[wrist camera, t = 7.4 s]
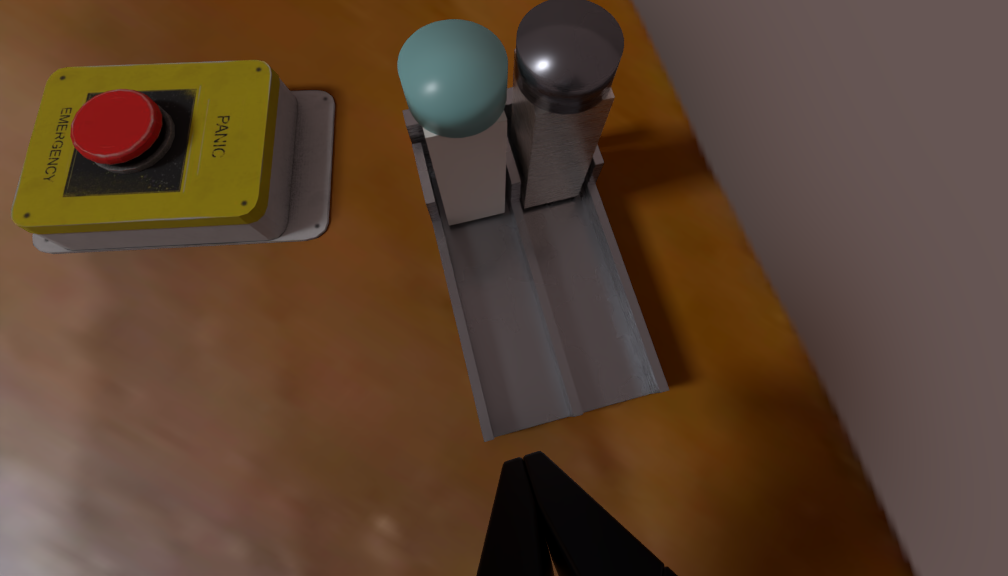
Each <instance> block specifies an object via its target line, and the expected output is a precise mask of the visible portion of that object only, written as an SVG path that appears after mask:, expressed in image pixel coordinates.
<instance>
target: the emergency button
mask: <svg viewBox="0 0 1008 576" xmlns="http://www.w3.org/2000/svg"><path fill="white" fill-rule="evenodd" d="M334 117H335V103H334V99H333V97H332V96H331V95H330V94H328V93H327V92H325V91H319V90H304V91H290V90H289V89H288V88H287V87H286V85H285V84H284V83H283V82H282V81H281V79H280V78H279V76H278V75H277V73H276V72H275V71H274V70H273V69H272V68H271V67H270V66H269V65H268V64H267V63H266V62H264V61H259V60H243V61H217V62H191V63H164V64H138V65H112V66H86V67H66V68H62V69H58V70H57V71H56V72H54V73H53V74H52V75H50V77H49V79H48V81H47V82H46V86H45V89H44V93H43V97H42V100H41V104H40V107H39V111H38V114H37V118H36V122H35V125H34V129H33V132H32V136H31V140H30V143H29V147H28V150H27V154H26V158H25V161H24V165H23V168H22V172H21V175H20V179H19V183H18V186H17V190H16V193H15V197H14V201H13V204H12V208H11V219H12V220H13V222H14V223H15V224H16V225H17V226H19V227H21V228H23V229H24V230H26V231H28V232H30V233H33V236H32V237H33V245H34V246H35V247H36V248H37V249H38V250H39V251H41V252H45V253H51V254H63V253H82V252H101V251H120V250H139V249H159V248H178V247H197V246H216V245H235V244H255V243H274V242H293V241H308V240H311V239H315V238H318V237H319V236H320V235H322V234H323V233H324V232H325V231H326V229H327V226H328V224H329V209H330V191H331V172H332V154H333V136H334Z"/></svg>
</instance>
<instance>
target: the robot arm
mask: <svg viewBox="0 0 1008 576" xmlns="http://www.w3.org/2000/svg"><path fill="white" fill-rule="evenodd" d="M546 541H547V542H546ZM547 545H548V546H547ZM548 548H549V549H548ZM549 551H550V553H549ZM550 554H551V557H552V560H553V563H554V565H555V568H556V571H557V573H558V575H559V576H677V575H676V574H675V573H674V572H673V571H672V570H671V569H670V568H669V567H665V568H664V564H663V562H661V561H660V560H659V559H658V558H657V557H656V556H655V555H654V554H653V553H652V552H651V551H649V550H648V549H647V548H646V547H645V546H644V545H643V544H642V543H641V542H640V541H639V540H638V539H636V538H635V537H634V536H633V535H632V534H631V533H630V532H629V531H628V530H627V529H626V528H624V527H623V526H622V525H621V524H620V523H619V522H618V521H617V520H616V519H615V518H614V517H612V516H611V515H610V514H609V513H608V512H607V511H606V510H605V509H604V508H603V507H602V506H601V505H599V504H598V503H597V502H596V501H595V500H594V499H593V498H592V497H591V496H590V495H589V494H587V493H586V492H585V491H584V490H583V489H582V488H581V487H580V486H579V485H578V484H577V483H575V482H574V481H573V480H572V479H571V478H570V477H569V476H568V475H567V474H566V473H565V472H563V471H562V470H561V469H560V468H559V467H558V466H557V465H556V464H555V463H554V462H553V461H552V460H550V459H549V458H548V457H547V456H546V455H545V454H544V453H543V452H541V451H537V452H534V453H531V454H528V455H525V456H524V457H523V459H522V458H520V457H518V458H515V459H512V460H509V461H506V462H504V464H503V466H502V470H501V475H500V479H499V483H498V487H497V491H496V496H495V500H494V504H493V508H492V512H491V517H490V521H489V525H488V529H487V533H486V538H485V542H484V546H483V550H482V554H481V559H480V563H479V567H478V571H477V575H476V576H554V571H553V566H552V561H551V557H550Z"/></svg>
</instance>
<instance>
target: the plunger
mask: <svg viewBox="0 0 1008 576" xmlns="http://www.w3.org/2000/svg"><path fill="white" fill-rule="evenodd" d="M398 73H399V77H400V80H401V84H402V87H403V90H404V94H405V97H406V100H407V104H408V107H409V110H410V112H411V114H412V116H413V117H414V119H415V120H416V121H417V122H418V123H419V125H421V126H422V127H423V131H424V135H425V139H426V143H427V146H428V150H429V154H430V158H431V161H432V165H433V169H434V172H435V176H436V180H437V183H438V187H439V191H440V194H441V198H442V202H443V205H444V209H445V213H446V217H447V220H448V224H449V226H450V225H454V224H459V223H463V222H467V221H471V220H476V219H480V218H484V217H488V216H493V215H497V214H501V213H505V180H506V147H507V118H506V114H505V111H504V108H505V105H506V101H507V73H508V60H507V54H506V51H505V49H504V46H503V45H502V43H501V41H500V40H499V39H498V38H497V36H496V35H494V34H493V33H492V32H491V31H490V30H488V29H487V28H485V27H483V26H481V25H479V24H477V23H474V22H470V21H465V20H456V19H452V20H442V21H437V22H434V23H431V24H428V25H426V26H424V27H422V28H421V29H419V30H417V31H416V32H415V33H414V34H412V35H411V36H410V37H409V38H408V40H407V41H406V42H405V44H404V45H403V47H402V49H401V51H400V54H399V58H398Z"/></svg>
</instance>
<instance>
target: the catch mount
mask: <svg viewBox="0 0 1008 576" xmlns="http://www.w3.org/2000/svg"><path fill="white" fill-rule="evenodd" d="M623 48H624V38H623V33H622V30H621V28H620V26H619V24H618V23H617V21H616V20H615V18H614V17H613V16H612V15H611V14H610V13H609V12H607V11H606V10H605V9H603V8H602V7H600V6H598V5H596V4H595V3H592V2H589V1H586V0H549V1H546V2H543V3H541V4H539V5H537V6H536V7H534V8H533V9H531V10H530V11H529V12H528V13H527V14H526V15H525V16H524V18H523V19H522V21H521V22H520V25H519V27H518V31H517V40H516V49H514V71H513V87H512V88H507V101H506V105H505V108H504V111H505V114H506V118H507V147H506V180H505V213H501V214H497V215H493V216H488V217H484V218H480V219H476V220H471V221H467V222H463V223H459V224H454V225H450V226H449V224H448V220H447V217H446V213H445V209H444V205H443V202H442V198H441V194H440V191H439V187H438V183H437V180H436V176H435V172H434V169H433V165H432V161H431V158H430V154H429V150H428V146H427V143H426V139H425V135H424V131H423V127H422V126H421V125H419V123H418V122H417V121H416V120H415V119H414V117H413V116H412V114H411V112H410V110H409V109H408V110H403V114H404V118H405V123H406V127H407V130H408V133H409V136H410V139H411V142H412V147H413V151H414V155H415V160H416V164H417V168H418V172H419V177H420V181H421V185H422V189H423V194H424V198H425V202H426V205H427V208H428V211H429V214H430V217H431V220H432V223H433V227H434V231H435V235H436V240H437V244H438V248H439V252H440V256H441V261H442V265H443V269H444V273H445V278H446V282H447V286H448V290H449V294H450V299H451V303H452V307H453V311H454V316H455V320H456V324H457V328H458V332H459V337H460V341H461V345H462V349H463V354H464V358H465V362H466V366H467V370H468V375H469V379H470V383H471V387H472V391H473V396H474V400H475V404H476V408H477V413H478V417H479V421H480V425H481V429H482V434H483V438H484V442H485V441H489V440H493V439H494V437H497V436H500V435H504V434H508V433H511V432H515V431H518V430H522V429H526V428H529V427H533V426H536V425H540V424H543V423H547V422H551V421H554V420H558V419H561V418H565V417H569V416H571V417H575V416H579V415H582V414H583V412H586V411H590V410H594V409H597V408H601V407H604V406H608V405H612V404H615V403H619V402H622V401H626V400H629V399H633V398H637V397H640V396H644V395H647V394H652V393H661V392H664V391H668V390H669V388H668V385H667V382H666V379H665V376H664V374H663V371H662V368H661V365H660V363H659V360H658V357H657V354H656V351H655V349H654V346H653V343H652V340H651V337H650V335H649V332H648V329H647V326H646V323H645V321H644V318H643V315H642V312H641V310H640V307H639V304H638V301H637V298H636V296H635V293H634V290H633V287H632V284H631V282H630V279H629V276H628V273H627V270H626V268H625V265H624V262H623V259H622V256H621V254H620V251H619V248H618V245H617V243H616V240H615V237H614V234H613V231H612V229H611V226H610V223H609V220H608V217H607V215H606V212H605V209H604V206H603V203H602V201H601V198H600V195H599V192H598V189H597V187H596V184H595V183H596V181H597V179H598V176H599V174H600V172H601V169H602V167H603V165H604V161H603V158H602V155H601V153H600V150H599V147H598V141H599V138H600V136H601V133H602V130H603V128H604V125H605V122H606V120H607V117H608V114H609V112H610V109H611V106H612V104H613V101H614V98H615V97H614V94H613V92H612V89H611V85H612V82H613V79H614V76H615V73H616V70H617V67H618V65H619V62H620V59H621V56H622V53H623Z"/></svg>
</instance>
